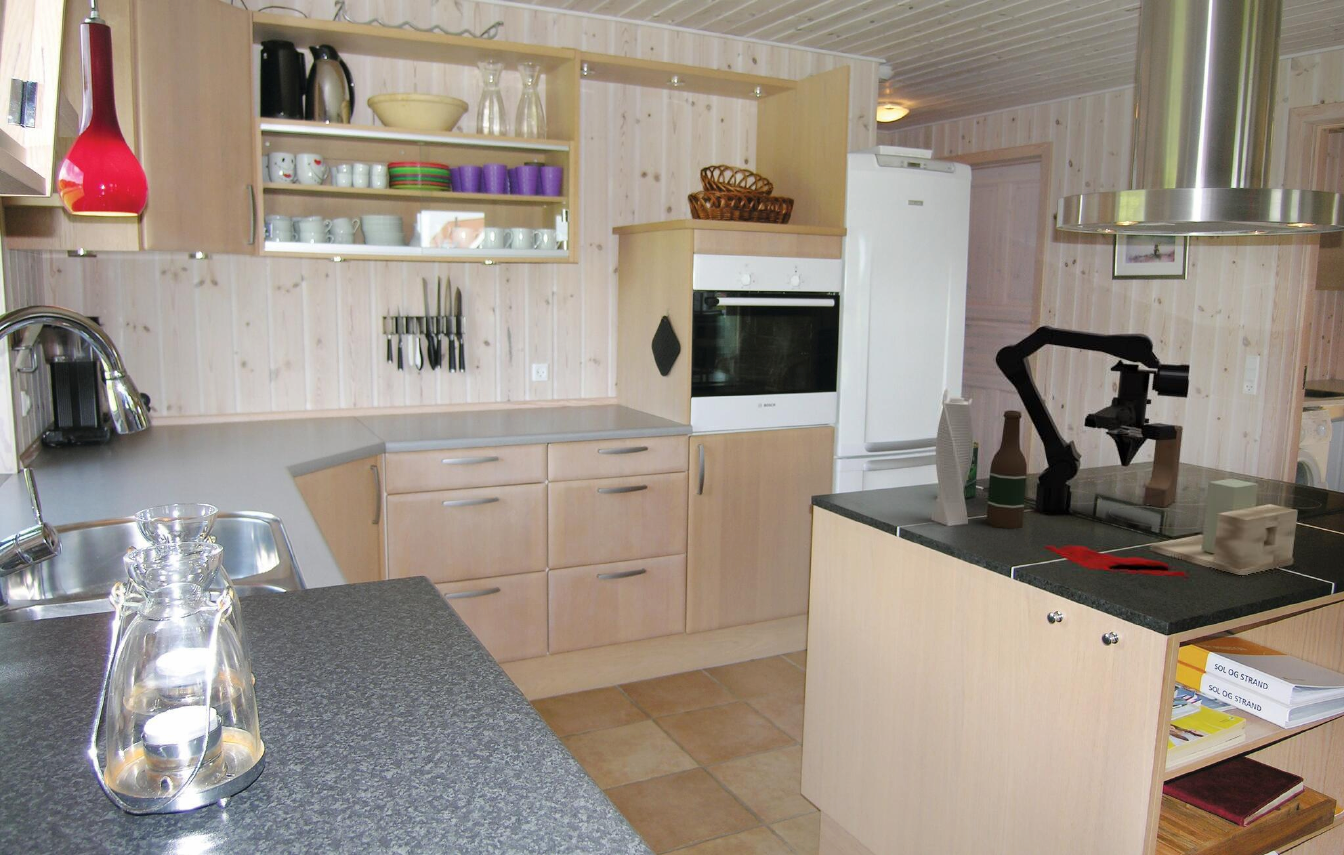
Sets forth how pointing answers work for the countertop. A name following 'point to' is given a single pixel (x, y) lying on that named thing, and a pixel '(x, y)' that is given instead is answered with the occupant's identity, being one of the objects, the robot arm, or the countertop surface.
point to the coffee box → (972, 475)
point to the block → (1226, 505)
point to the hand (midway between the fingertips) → (1124, 466)
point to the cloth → (1110, 561)
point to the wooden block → (1164, 472)
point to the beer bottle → (1008, 478)
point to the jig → (1241, 541)
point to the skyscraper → (953, 460)
